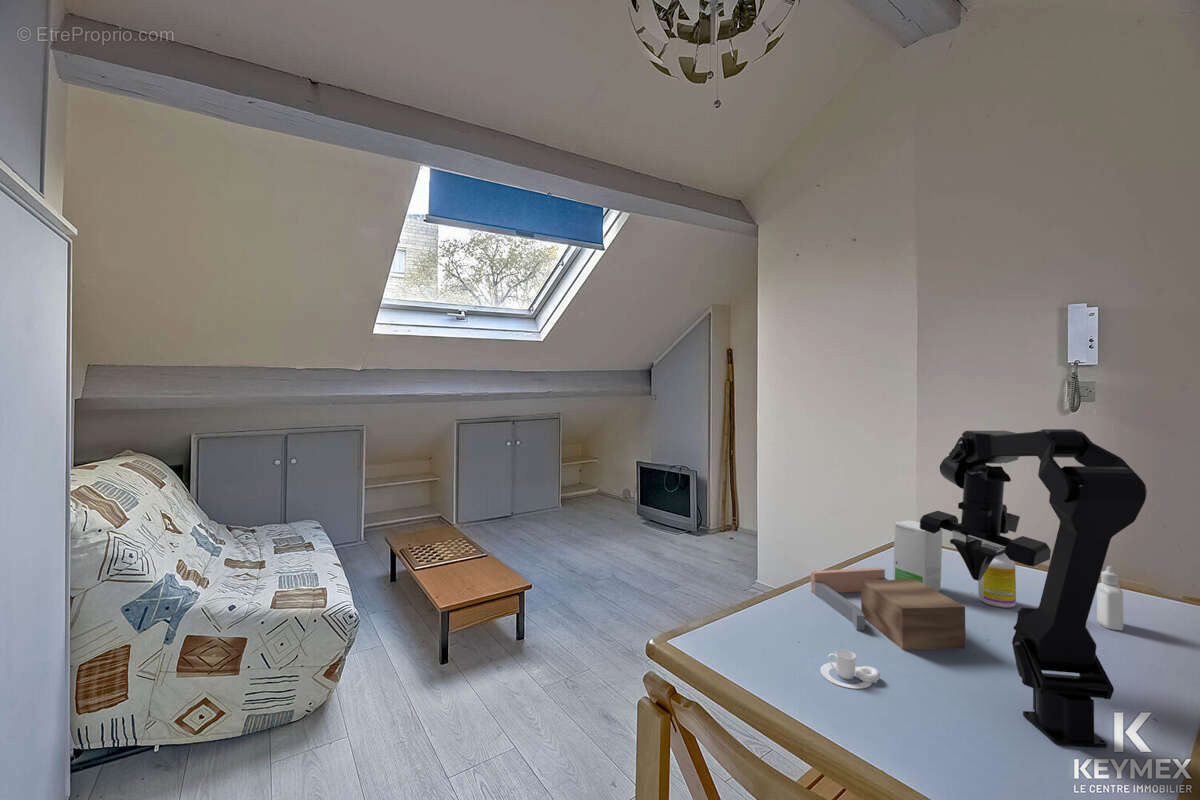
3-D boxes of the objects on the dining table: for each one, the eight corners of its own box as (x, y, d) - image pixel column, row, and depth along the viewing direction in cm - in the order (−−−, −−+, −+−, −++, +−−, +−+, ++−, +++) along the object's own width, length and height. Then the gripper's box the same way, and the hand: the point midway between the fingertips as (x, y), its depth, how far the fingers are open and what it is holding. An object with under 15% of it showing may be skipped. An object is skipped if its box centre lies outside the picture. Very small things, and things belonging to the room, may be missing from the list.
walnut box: (965, 649, 93) (965, 606, 93) (902, 650, 93) (902, 608, 93) (916, 616, 107) (915, 579, 107) (861, 617, 107) (861, 580, 107)
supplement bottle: (1023, 609, 109) (1022, 551, 109) (988, 607, 110) (988, 550, 110) (1004, 597, 115) (1004, 542, 115) (972, 595, 117) (972, 541, 117)
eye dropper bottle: (1090, 624, 102) (1090, 566, 102) (1099, 617, 105) (1099, 561, 104) (1120, 633, 98) (1120, 572, 98) (1129, 625, 101) (1129, 567, 101)
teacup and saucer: (884, 679, 84) (884, 655, 84) (868, 699, 79) (868, 674, 79) (831, 660, 91) (830, 637, 90) (813, 678, 85) (812, 654, 85)
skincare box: (892, 584, 125) (891, 522, 124) (909, 579, 127) (908, 519, 127) (926, 596, 117) (925, 530, 117) (943, 591, 120) (943, 526, 120)
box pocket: (951, 625, 102) (951, 600, 102) (858, 631, 100) (858, 606, 100) (885, 587, 123) (885, 567, 122) (806, 592, 120) (806, 571, 120)
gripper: (1071, 505, 85) (1062, 591, 87) (954, 478, 101) (949, 550, 104) (1036, 519, 80) (1028, 608, 82) (919, 487, 97) (915, 563, 99)
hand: (976, 579), depth 92 cm, fingers closed
